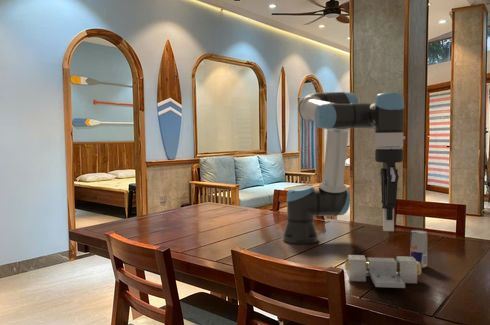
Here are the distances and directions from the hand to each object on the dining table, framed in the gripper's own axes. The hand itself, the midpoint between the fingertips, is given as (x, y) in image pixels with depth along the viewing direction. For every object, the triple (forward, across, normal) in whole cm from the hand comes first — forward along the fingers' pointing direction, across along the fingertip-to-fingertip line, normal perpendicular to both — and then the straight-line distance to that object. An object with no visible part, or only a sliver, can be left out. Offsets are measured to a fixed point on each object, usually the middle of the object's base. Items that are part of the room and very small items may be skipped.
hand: (388, 230), depth 116 cm
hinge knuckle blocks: (+18, +14, 0) cm, 23 cm away
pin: (+16, +10, 0) cm, 19 cm away
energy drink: (+18, +26, -15) cm, 35 cm away
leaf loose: (+16, +5, 0) cm, 17 cm away
